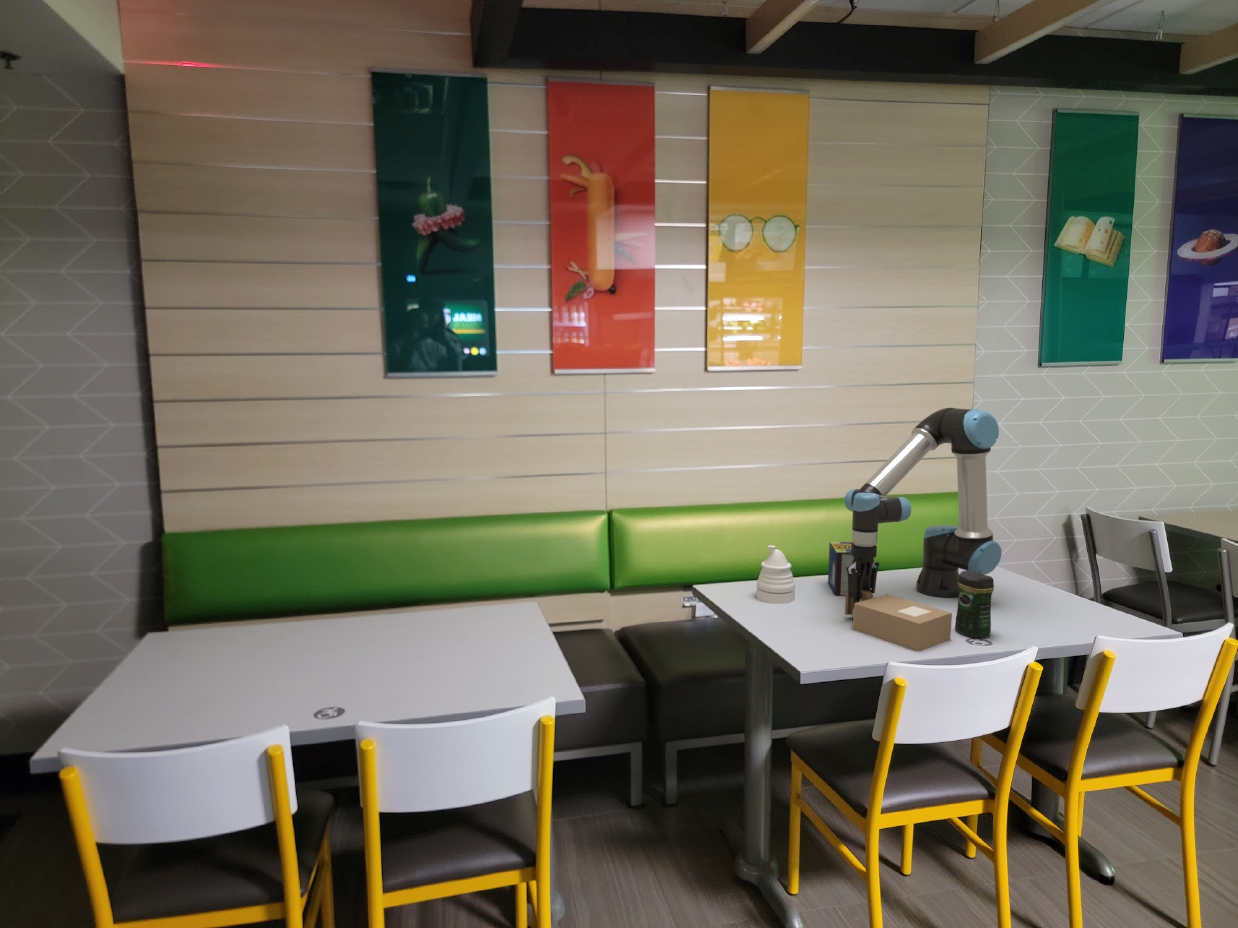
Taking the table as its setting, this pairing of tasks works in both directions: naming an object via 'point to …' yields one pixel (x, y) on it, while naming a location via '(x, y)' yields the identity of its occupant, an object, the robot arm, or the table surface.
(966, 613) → the coffee jar
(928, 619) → the cardboard box
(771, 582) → the honey pot
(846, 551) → the protein box
